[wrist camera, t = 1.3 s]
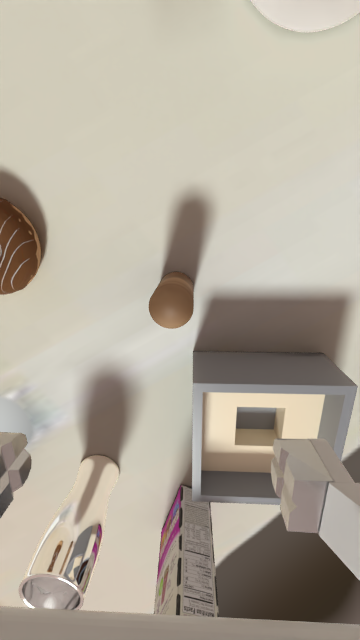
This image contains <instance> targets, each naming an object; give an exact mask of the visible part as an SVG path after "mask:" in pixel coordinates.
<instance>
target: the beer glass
mask: <svg viewBox="0 0 360 640" xmlns="http://www.w3.org/2000/svg"><path fill="white" fill-rule="evenodd" d="M118 478H119V468H118V466H117V465H116V463H115V462H114V461H113V460H111V459H110V458H108V457H105V456H102V455H93V456H89V457H87V458H85V459H84V460H83V461H82V462H81V464H80V467H79V470H78V474H77V478H76V481H75V483H74V486H73V487H72V489H71V491H70V492H69V494H68V495H67V497H66V498H65V500H64V501H63V503H62V504H61V506H60V507H59V508H58V510H57V511H56V513H55V514H54V516H53V517H52V519H51V521H50V522H49V524H48V525H47V527H46V529H45V531H44V533H43V535H42V537H41V538H40V540H39V543H38V545H37V547H36V549H35V551H34V554H33V556H32V558H31V561H30V563H29V565H28V568H27V570H26V573H25V575H24V578H23V580H22V582H21V584H20V586H19V595H20V597H21V599H22V600H23V602H24V603H25V604H26V605H28V606H29V607H30V608H46V609H66V610H79V609H80V608H81V607H82V605H83V602H84V598H85V595H86V592H87V590H88V587H89V584H90V582H91V579H92V576H93V573H94V570H95V567H96V564H97V561H98V558H99V554H100V550H101V546H102V542H103V536H104V530H105V523H106V515H107V508H108V502H109V498H110V495H111V492H112V490H113V488H114V486H115V484H116V482H117V480H118Z"/></svg>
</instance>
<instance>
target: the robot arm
mask: <svg viewBox="0 0 360 640" xmlns="http://www.w3.org/2000/svg"><path fill="white" fill-rule="evenodd" d="M250 1H251V2H252V3H253V5H254V6H255V7H256V8H257V9H258V11H259V12H260V13H261V14H263V15H264V16H265V17H266V18H267V19H269V20H270V21H271V22H273V23H275V24H276V25H278V26H280V27H283V28H285V29H288V30H292V31H297V32H317V31H323V30H327V29H330V28H333V27H335V26H338V25H340V24H342V23H344V22H346V21H348V20H349V19H351V18H352V17H354V16H355V15H357V14H358V13H359V12H360V0H250ZM27 443H28V442H27V439H26V435H24V434H22V433H8V432H0V518H1V517H2V515H3V514H4V512H5V511H6V509H7V508H8V506H9V505H10V503H11V502H12V500H13V492H14V491H16V490H17V489H19V488H20V487H22V486H23V484H24V483H25V481H26V479H27V478H28V475H29V472H30V469H31V456H30V454H29V453H28V452H27V451H26V450H25V449H24V448H25V447H26V445H27ZM273 451H274V454H275V457H274V458H273V459H272V460H271V478H272V483H273V487H274V491H275V494H276V495H277V496H278V497H279V498H280V499H281V503H280V510H281V513H282V516H283V519H284V522H285V525H286V528H287V531H296V532H311V533H319V536H320V537H321V538H322V539H323V540H324V541H325V542H326V544H328V546H329V547H330V548H331V549H332V550H333V551H334V552H335V554H336V555H337V556H338V557H339V558H340V559H341V560H342V561H343V562H344V564H345V565H346V566H347V567H348V568H349V569H350V570H351V571H352V572H353V574H354V575H355V576H356V577H357V578H358V579H359V580H360V483H355V482H354V481H353V479H352V478H351V476H350V475H349V473H348V472H347V470H346V469H345V467H344V466H343V464H342V463H341V461H340V460H339V458H338V457H337V455H336V454H335V452H334V451H333V449H332V447H331V446H330V444H329V443H328V441H327V440H325V439H280V438H275V440H274V442H273ZM0 640H360V625H355V624H354V625H353V624H336V623H316V622H298V621H278V620H259V619H239V618H220V617H202V616H182V615H163V614H144V613H125V612H105V611H86V610H66V609H46V608H26V607H7V606H0Z"/></svg>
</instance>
